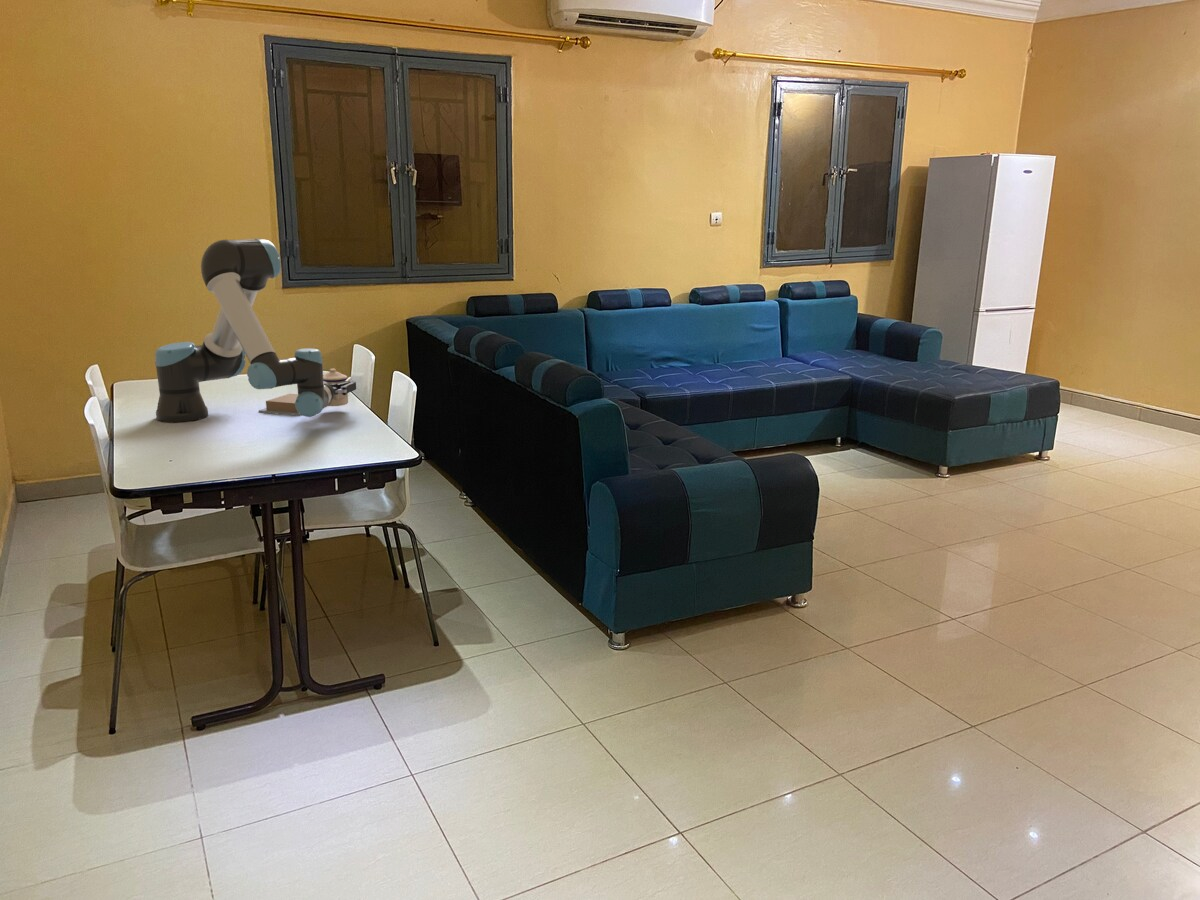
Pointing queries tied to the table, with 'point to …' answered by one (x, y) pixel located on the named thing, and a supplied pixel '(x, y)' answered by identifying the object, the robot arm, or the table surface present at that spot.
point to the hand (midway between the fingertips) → (335, 380)
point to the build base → (282, 405)
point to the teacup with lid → (336, 378)
